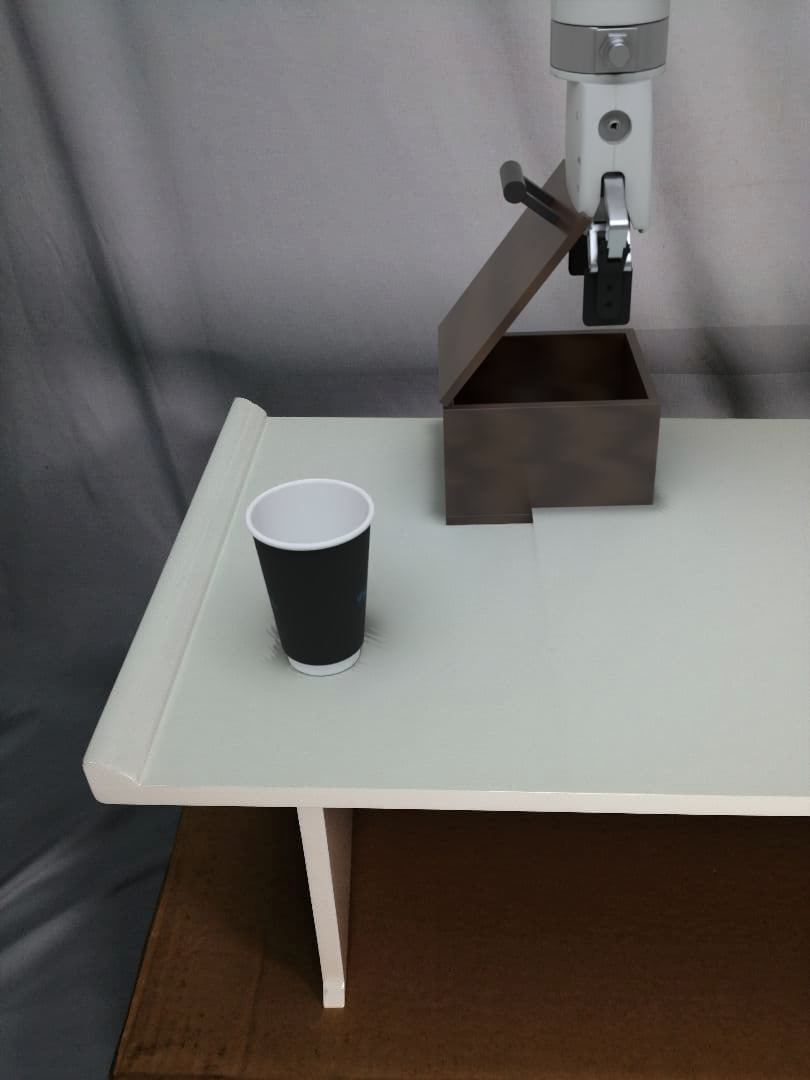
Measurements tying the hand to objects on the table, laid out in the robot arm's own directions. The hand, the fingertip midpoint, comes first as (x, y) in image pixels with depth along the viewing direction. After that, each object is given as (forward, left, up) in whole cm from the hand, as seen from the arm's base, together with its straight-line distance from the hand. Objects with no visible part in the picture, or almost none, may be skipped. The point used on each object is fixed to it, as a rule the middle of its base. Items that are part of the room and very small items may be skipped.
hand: (597, 297), depth 85 cm
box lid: (+6, -1, +1) cm, 6 cm away
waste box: (+4, -1, -16) cm, 16 cm away
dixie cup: (+20, +21, -16) cm, 33 cm away
